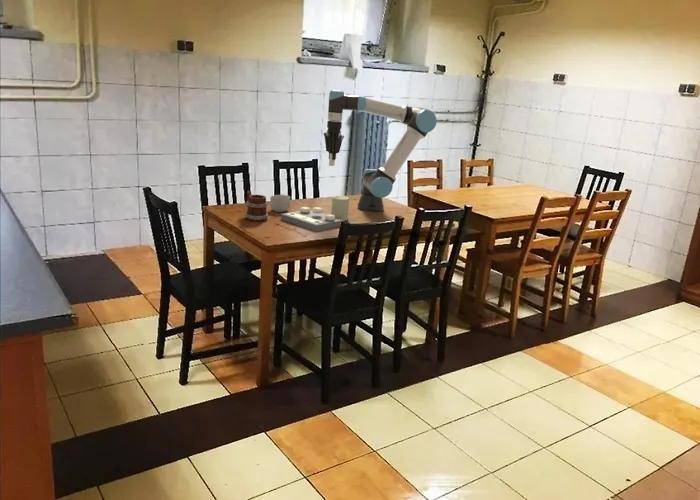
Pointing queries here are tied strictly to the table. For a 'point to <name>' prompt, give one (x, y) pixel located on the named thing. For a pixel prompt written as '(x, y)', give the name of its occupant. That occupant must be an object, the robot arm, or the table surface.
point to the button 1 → (305, 210)
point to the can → (340, 207)
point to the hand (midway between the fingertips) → (331, 165)
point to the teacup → (280, 203)
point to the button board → (311, 220)
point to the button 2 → (330, 217)
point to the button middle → (317, 210)
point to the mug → (256, 208)
